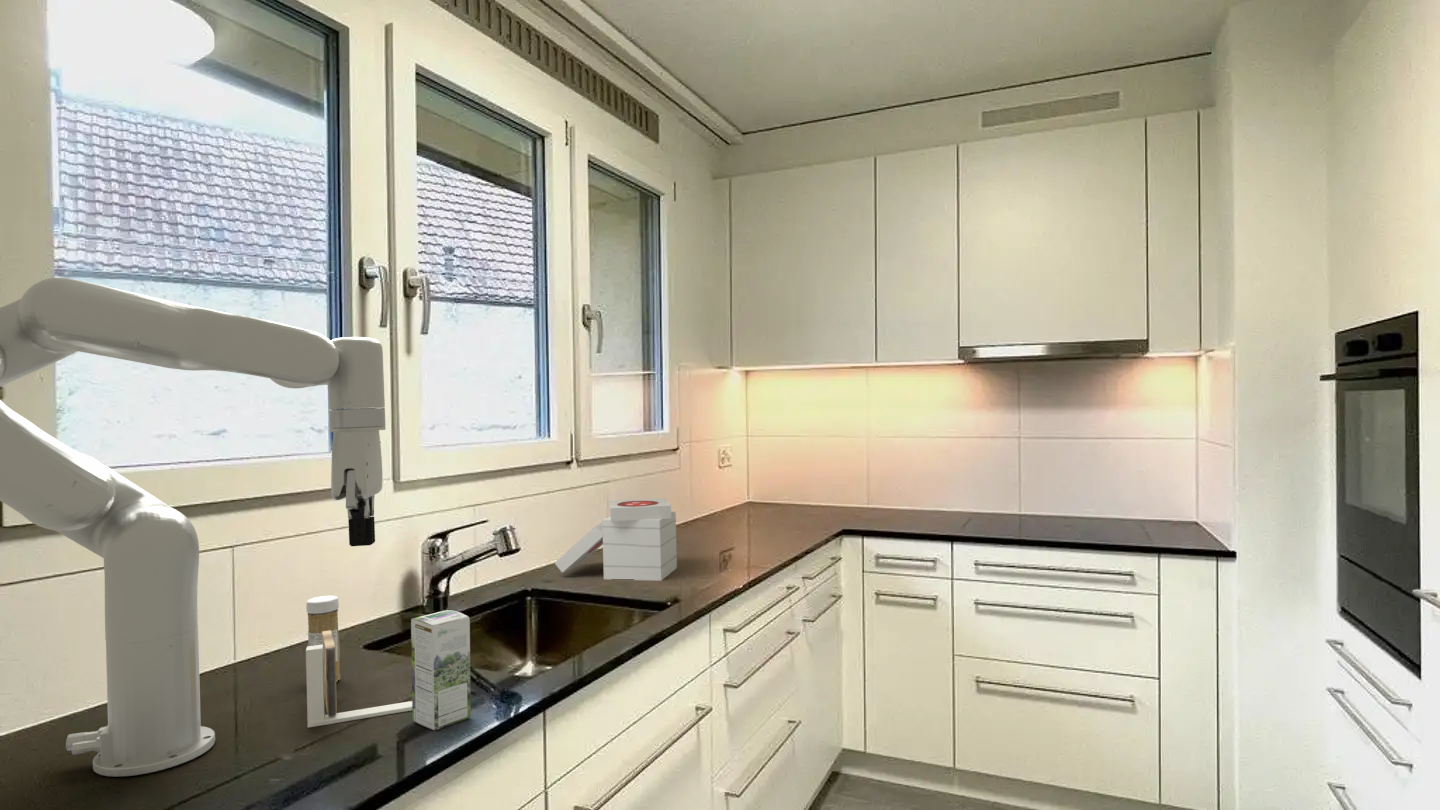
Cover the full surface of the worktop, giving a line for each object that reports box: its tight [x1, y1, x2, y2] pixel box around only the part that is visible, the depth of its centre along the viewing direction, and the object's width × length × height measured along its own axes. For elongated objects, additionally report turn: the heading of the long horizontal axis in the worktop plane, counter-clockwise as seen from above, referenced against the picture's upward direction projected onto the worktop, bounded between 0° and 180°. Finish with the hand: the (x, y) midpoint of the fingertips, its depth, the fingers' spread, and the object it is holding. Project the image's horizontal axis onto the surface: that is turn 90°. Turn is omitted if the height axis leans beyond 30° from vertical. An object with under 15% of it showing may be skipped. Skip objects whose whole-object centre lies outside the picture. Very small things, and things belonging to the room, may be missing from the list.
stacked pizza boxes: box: [554, 498, 678, 582], centre depth 202 cm, size 19×30×18 cm, turn 78°
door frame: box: [305, 644, 412, 728], centre depth 111 cm, size 16×2×10 cm, turn 114°
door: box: [322, 630, 338, 716], centre depth 114 cm, size 11×1×9 cm, turn 30°
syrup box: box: [410, 609, 472, 731], centre depth 109 cm, size 6×6×14 cm
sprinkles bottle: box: [306, 595, 341, 683], centre depth 125 cm, size 5×5×13 cm
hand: (362, 544), depth 116 cm, fingers closed
